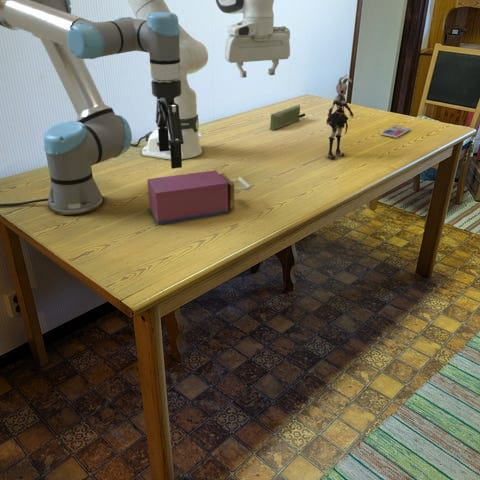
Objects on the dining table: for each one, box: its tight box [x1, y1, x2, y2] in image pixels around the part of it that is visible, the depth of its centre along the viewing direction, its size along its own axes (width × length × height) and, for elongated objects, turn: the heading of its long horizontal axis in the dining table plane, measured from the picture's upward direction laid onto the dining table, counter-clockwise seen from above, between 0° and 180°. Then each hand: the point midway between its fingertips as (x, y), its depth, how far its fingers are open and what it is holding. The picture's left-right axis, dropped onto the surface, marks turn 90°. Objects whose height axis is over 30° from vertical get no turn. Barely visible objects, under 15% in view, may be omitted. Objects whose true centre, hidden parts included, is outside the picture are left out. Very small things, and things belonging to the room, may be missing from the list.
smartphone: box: [380, 124, 411, 139], centre depth 215 cm, size 7×1×15 cm
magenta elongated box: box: [146, 169, 229, 225], centre depth 145 cm, size 21×10×10 cm, turn 111°
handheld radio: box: [269, 104, 306, 131], centre depth 223 cm, size 7×3×25 cm
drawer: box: [219, 172, 252, 209], centre depth 147 cm, size 25×9×7 cm, turn 111°
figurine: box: [325, 74, 354, 160], centre depth 182 cm, size 15×6×30 cm, turn 132°
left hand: (170, 159), depth 139 cm, fingers open, 13 cm apart
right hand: (257, 76), depth 155 cm, fingers open, 8 cm apart
